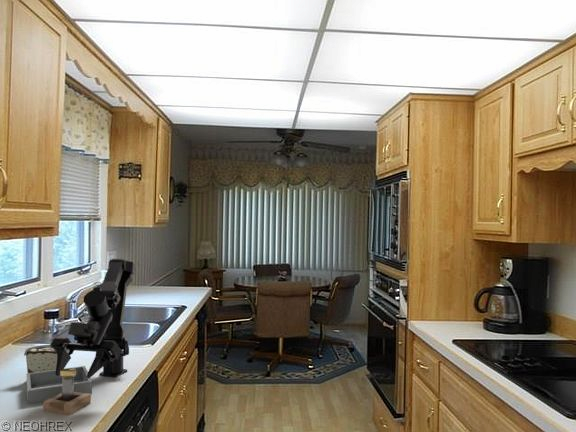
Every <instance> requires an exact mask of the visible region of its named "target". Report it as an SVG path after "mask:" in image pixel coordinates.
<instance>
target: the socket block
mask: <svg viewBox="0 0 576 432" xmlns="http://www.w3.org/2000/svg"><path fill="white" fill-rule="evenodd" d="M91 400H92V394H88V393H80V392H74V399H73V400H71V401H69V402H68V401H62V393H60V394H58V395H56V396H54V397H52V398H50V399H48V400H46V401H44V402H43V409H42V410H43V412H46V413H53V414H58V415H59V414H60V415H67V416H71V415H73V414H74V413H76V412H78V411H80V410H82V409H83V408H86V407H88V406H89V405H90V404H92V401H91Z"/></svg>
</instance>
